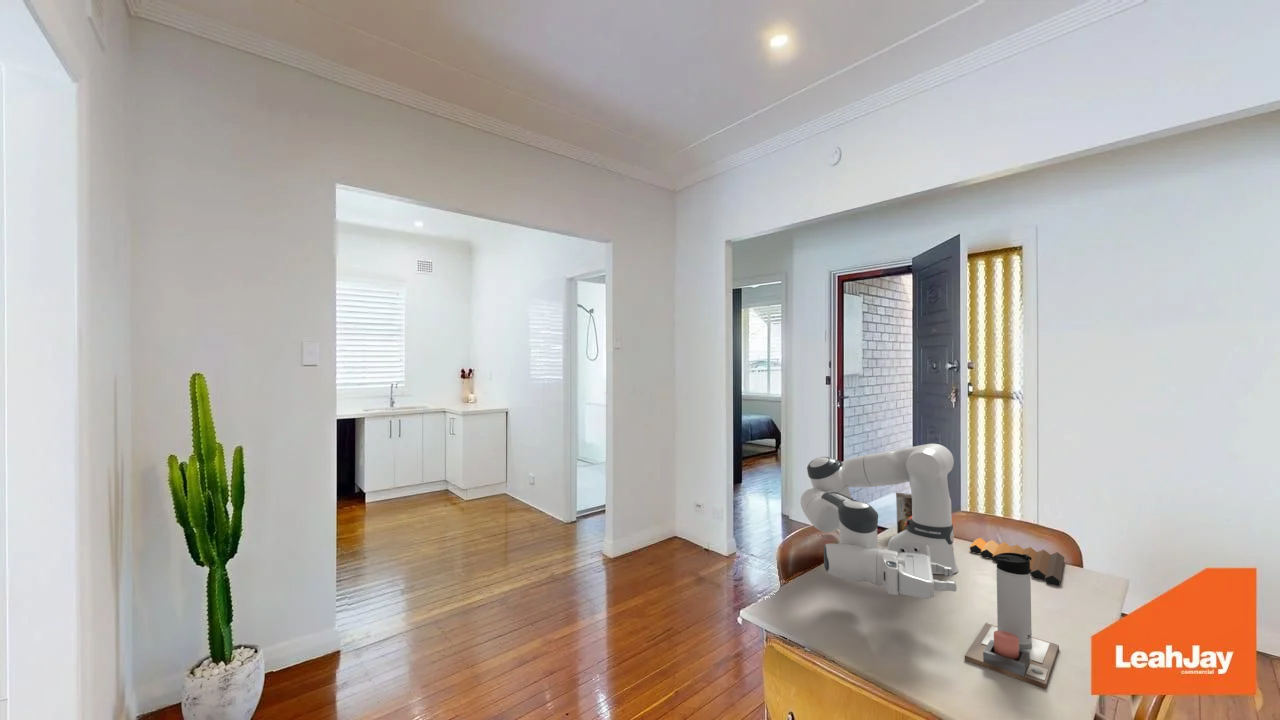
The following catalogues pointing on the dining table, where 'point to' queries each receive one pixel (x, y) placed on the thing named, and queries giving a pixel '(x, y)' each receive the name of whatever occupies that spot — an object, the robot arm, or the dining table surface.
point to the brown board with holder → (1028, 668)
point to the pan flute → (1040, 561)
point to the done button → (1006, 644)
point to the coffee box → (903, 510)
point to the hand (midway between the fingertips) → (954, 579)
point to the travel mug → (1014, 596)
